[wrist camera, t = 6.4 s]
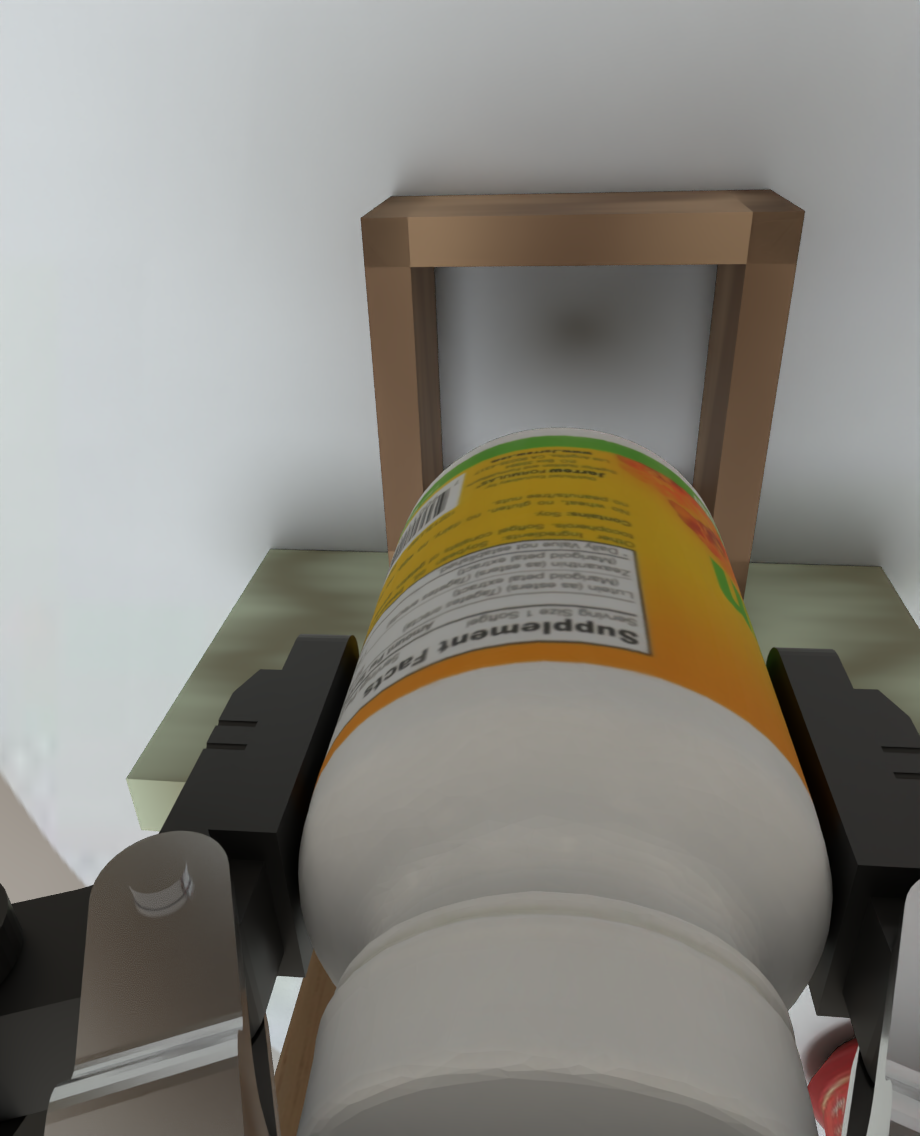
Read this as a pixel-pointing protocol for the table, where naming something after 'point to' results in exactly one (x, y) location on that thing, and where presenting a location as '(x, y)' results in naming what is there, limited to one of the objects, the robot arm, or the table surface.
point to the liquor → (833, 1088)
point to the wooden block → (301, 1045)
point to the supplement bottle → (561, 822)
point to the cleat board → (414, 441)
